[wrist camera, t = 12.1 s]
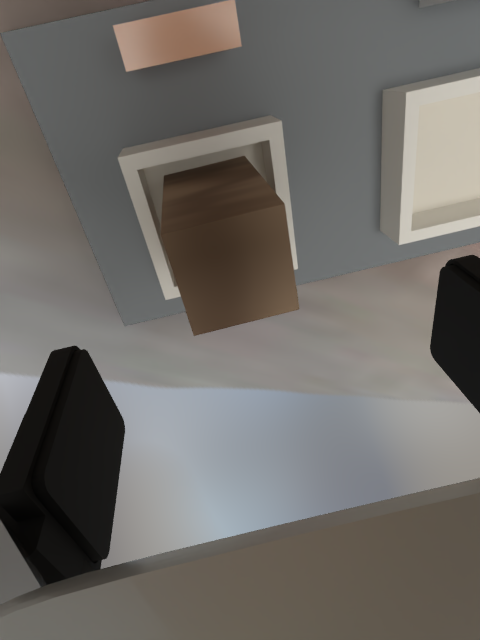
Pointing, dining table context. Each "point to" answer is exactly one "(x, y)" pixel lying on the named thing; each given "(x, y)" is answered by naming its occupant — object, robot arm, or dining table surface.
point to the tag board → (268, 131)
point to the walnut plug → (227, 245)
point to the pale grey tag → (431, 2)
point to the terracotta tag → (178, 35)
